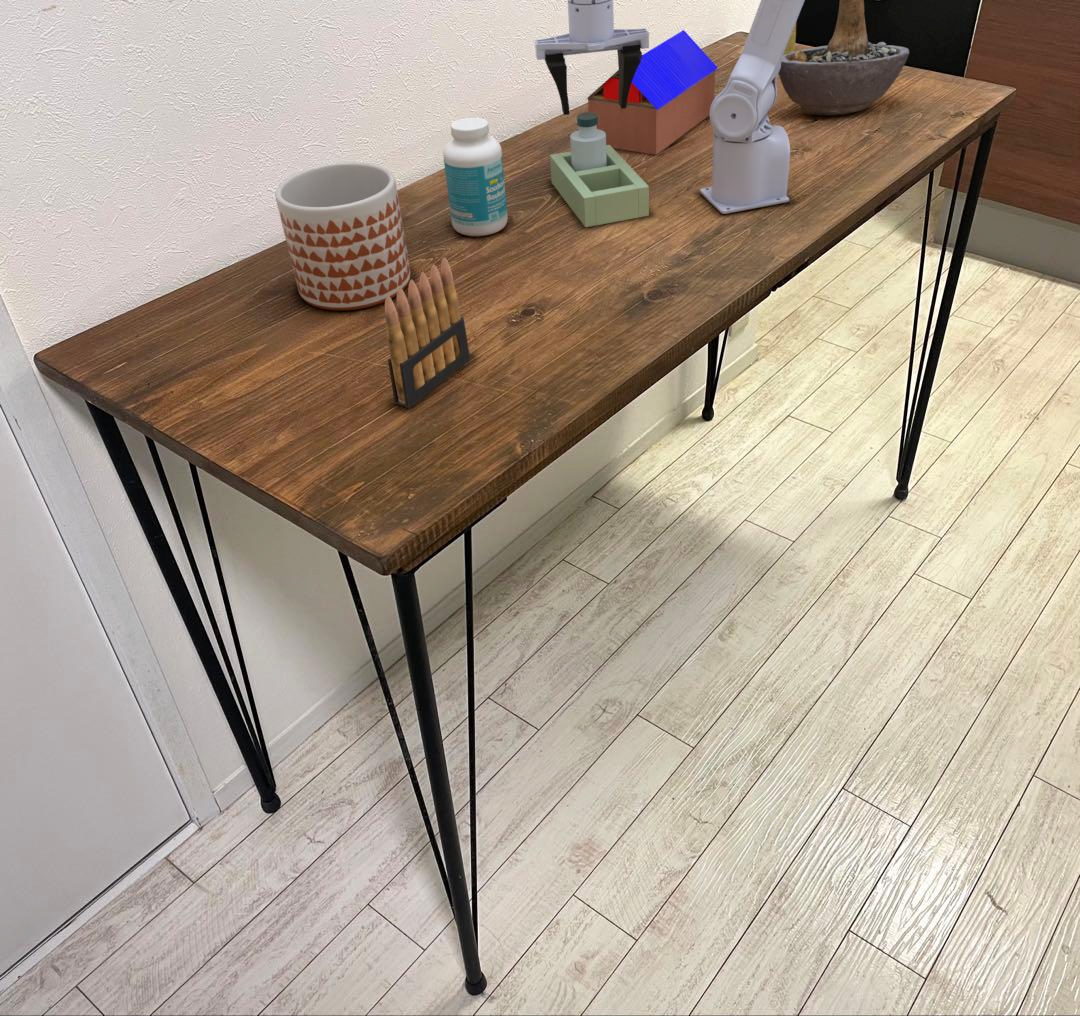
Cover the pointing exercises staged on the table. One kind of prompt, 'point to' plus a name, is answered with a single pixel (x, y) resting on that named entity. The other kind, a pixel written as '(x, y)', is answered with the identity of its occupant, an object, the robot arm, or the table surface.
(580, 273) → the table surface
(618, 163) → the tray
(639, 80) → the house
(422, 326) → the ammunition clip
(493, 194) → the pill bottle
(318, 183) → the patterned ceramic pot
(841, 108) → the planter
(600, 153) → the bottle
